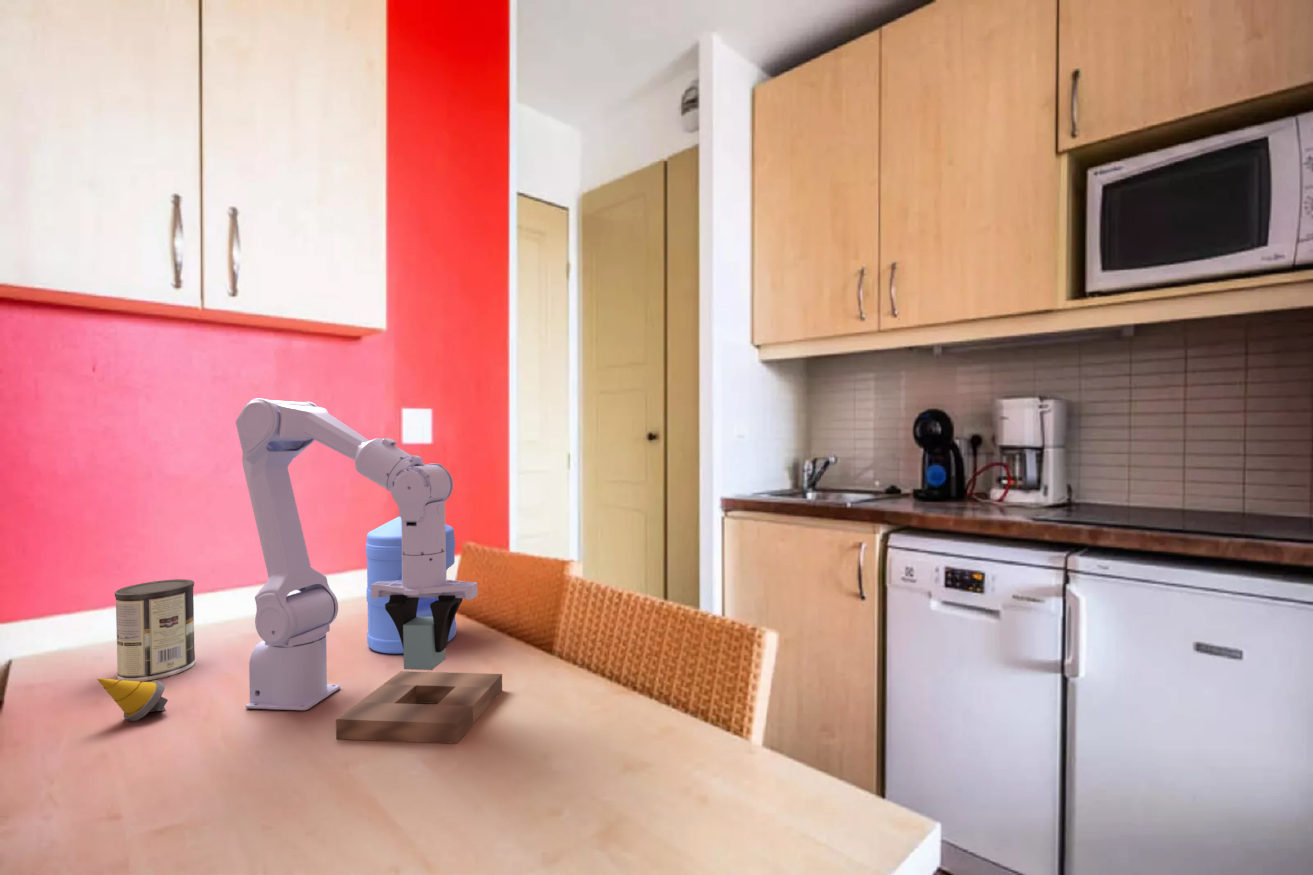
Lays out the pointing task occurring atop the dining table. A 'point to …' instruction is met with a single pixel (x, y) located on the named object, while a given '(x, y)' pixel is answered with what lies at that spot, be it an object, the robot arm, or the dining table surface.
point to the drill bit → (136, 696)
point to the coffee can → (155, 629)
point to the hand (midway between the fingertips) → (425, 649)
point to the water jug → (388, 567)
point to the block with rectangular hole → (421, 707)
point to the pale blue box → (420, 645)
